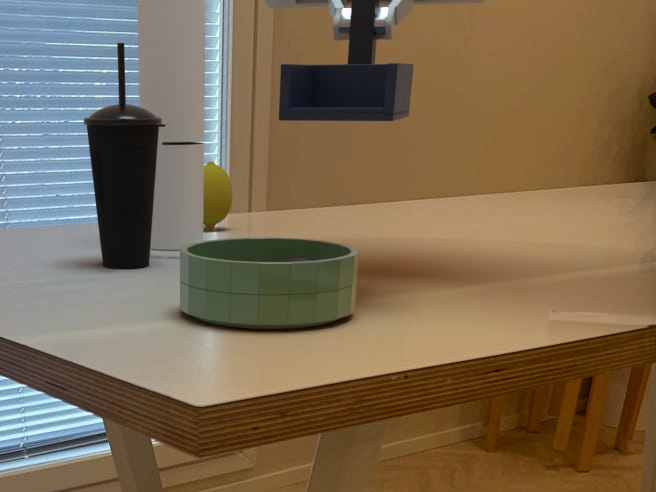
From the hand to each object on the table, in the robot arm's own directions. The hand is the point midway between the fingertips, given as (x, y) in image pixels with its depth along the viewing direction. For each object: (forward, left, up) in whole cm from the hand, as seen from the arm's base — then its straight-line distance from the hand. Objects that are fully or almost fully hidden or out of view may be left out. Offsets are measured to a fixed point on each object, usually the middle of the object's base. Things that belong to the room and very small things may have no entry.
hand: (362, 33), depth 85 cm
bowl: (+4, +14, -20) cm, 25 cm away
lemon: (+24, -36, -20) cm, 48 cm away
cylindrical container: (+24, -21, -20) cm, 38 cm away
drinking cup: (+24, -6, -20) cm, 32 cm away
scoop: (0, +5, -6) cm, 8 cm away
